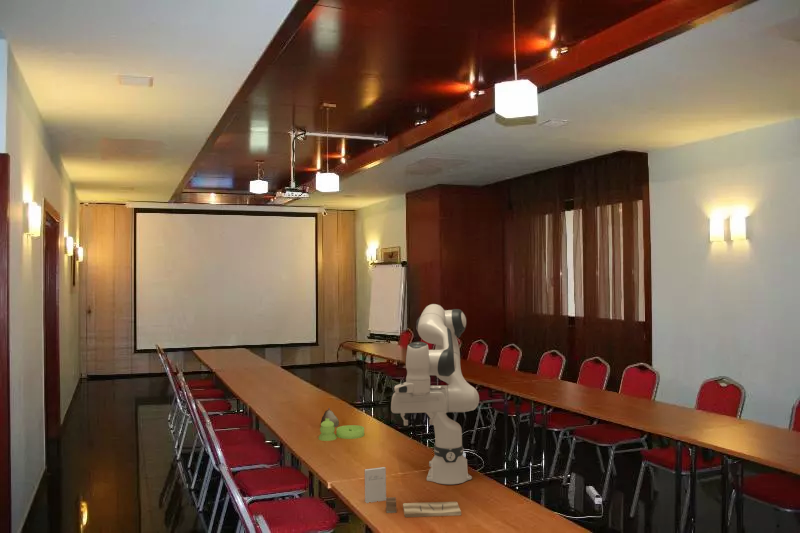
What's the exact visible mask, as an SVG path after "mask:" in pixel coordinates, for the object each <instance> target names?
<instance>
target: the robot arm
mask: <svg viewBox="0 0 800 533" xmlns="http://www.w3.org/2000/svg"><path fill="white" fill-rule="evenodd" d="M415 324H416V325H415V326H416V331H417V333H418V336H419V337H420V338H421V340H423V341H415V342H414V341H413V342H411V343H409V344H407V349H406V356H405V369H406V377H405V382H402V383H398V384H396V385H395V386H394V387H393V388H394V392H393V394H392V396H391V402H390V411H391V412H392V414H400V417H401V418H402V420H403V426H409V420H408V419H406V418H405V415H406V414H417V413H418V414H422V413H424V414H426V415H427V416H428V417H429V419H428V420H429V426H431V425H433V429H434V430H433V431H434V437H435V439H434V440H435V441H434V443H435V444H434V446H433V448H434V449H433V451H434V456H433V457H432V459H431V460H428V461H429V462H428V467H430V468H429V470H428V471H427V472H428V474H427V476H426V481H427V482H434V483H435V484H436V483H437V484H440V485H458V484H459V485H460V484H463V483H465V482H467V481H470V480H473V476H472V475H470V473H468V459H467V458H466V457H465V456H464V445H463V434H462V433H463V430H462V429H463V428H462V426H461V425H460V423H458V422H457V421H455V420H453V419H451V418H450V417H449V416H448V415H447V413H467V412H471V411H474V410H476V409H477V407H479V403H480V395H479V391H478V390H477V389H476V388H475V387H474V386H473V385H471V384H470V383H469V382H468V381H466V379H465V377H464V376H463V372H462V369H461V353H460V346H459V341H458V338H461V337H462V334H463V333H464V332H465V330H466V328H467V317H466V315H465V313H464V312H463V310H461V309H459V308H453V309H448V310H447V309H444V308H443V306H441V305H440V304H436V303H431V304H429V305H426V306H425V308H424V309H423V311H422V312H421V315H420V316H419V317H418V318H417V320H416V323H415ZM428 344H431V345H432V344H433V345H435V347H434V349H430V348H429V345H428ZM431 376H436V378H438V379H439V380H440V381H443V382H444V383H446V385H444V384H443V385H435V384H434V385H431Z"/></svg>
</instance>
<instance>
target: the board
mask: <svg viewBox="0 0 800 533" xmlns="http://www.w3.org/2000/svg"><path fill="white" fill-rule="evenodd" d="M402 507H403V513H404V514H403V515H404V518H418V517H419V518H420V517H421V518H423V517H450V516H453V517H455V516H462V510H461V508H460V506H459V503H458V501H434V502H433V501H432V502H407V503H406V502H405V503H402Z"/></svg>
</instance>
